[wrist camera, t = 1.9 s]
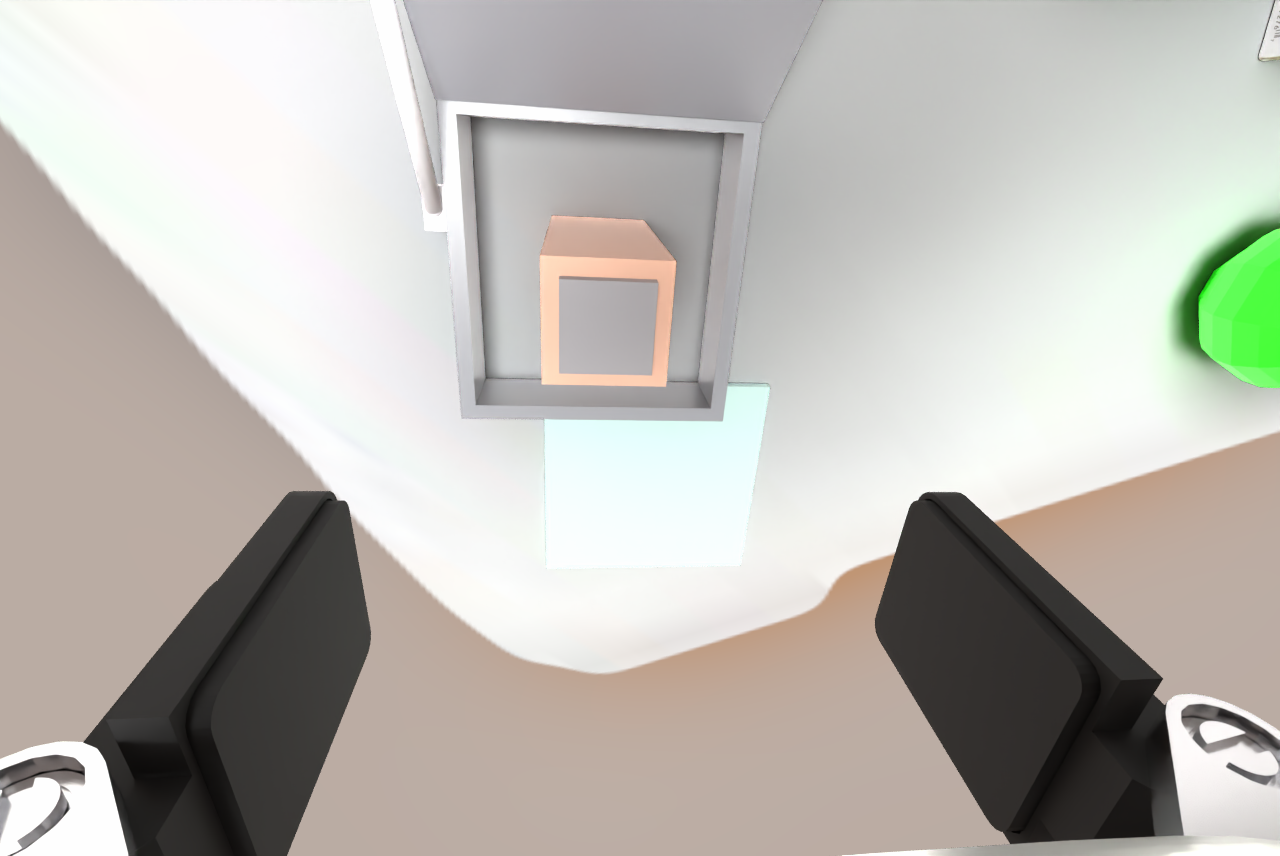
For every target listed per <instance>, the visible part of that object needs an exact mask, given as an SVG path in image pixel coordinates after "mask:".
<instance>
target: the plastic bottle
mask: <svg viewBox="0 0 1280 856" xmlns="http://www.w3.org/2000/svg"><path fill="white" fill-rule="evenodd" d="M1198 317H1199V340H1200V344H1201V348H1202V349H1203V350H1204V351H1205V352H1206V353H1207V354H1208V355H1209V356H1210V357H1211V358H1212V359H1213V360H1214V361H1215V362H1217V363H1218V364H1220V365H1221V366H1222V367H1224V368H1225V369H1226V370H1228V371H1229V372H1230V373H1232V374H1233V375H1234V376H1236V377H1237V378H1238V379H1240V380H1241V381H1244V382H1247V383H1250V384H1252V385H1255V386H1258V387H1267V388H1280V229H1275V230H1274V231H1272V232H1270V233H1268V234H1266V235H1264V236H1262V237H1261V238H1260V239H1258V240H1257V241H1256V242H1254V243H1253V244H1251V245H1250V246H1249V247H1247V248H1246V249H1245V250H1243V251H1242V252H1240V253H1238V254H1236V255H1235V256H1234V257H1232V258H1231V259H1230V260H1228V261H1227V262H1225V263H1224V264H1223V265H1221V266H1220V267H1219V268H1217V269H1216V270H1215V271H1213V273H1212V275H1211V276H1210V278H1209V280H1208V281H1207V283H1206V285H1205V286H1204V288H1203V290H1202V291H1201V293H1200V295H1199V296H1198Z"/></svg>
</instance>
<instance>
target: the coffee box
mask: <svg viewBox="0 0 1280 856" xmlns="http://www.w3.org/2000/svg"><path fill="white" fill-rule="evenodd" d="M1259 59H1260V60H1261V61H1271V60H1280V0H1276V1H1275V4H1274V7H1273V11H1272V14H1271V17H1270V20H1269V23H1268V27H1267V30H1266V34H1265V37H1264V40H1263V43H1262V47H1261V50H1260V53H1259Z"/></svg>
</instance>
